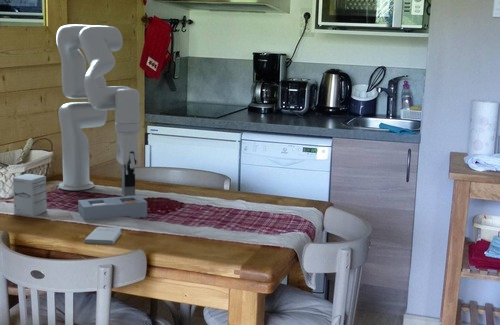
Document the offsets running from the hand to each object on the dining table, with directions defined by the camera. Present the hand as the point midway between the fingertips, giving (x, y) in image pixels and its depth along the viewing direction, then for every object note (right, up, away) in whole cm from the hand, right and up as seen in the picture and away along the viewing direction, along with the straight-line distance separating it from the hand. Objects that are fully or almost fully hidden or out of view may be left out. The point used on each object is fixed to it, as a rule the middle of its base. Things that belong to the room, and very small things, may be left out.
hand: (128, 184), depth 212 cm
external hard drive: (-3, -15, -20) cm, 25 cm away
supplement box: (-31, -10, -1) cm, 32 cm away
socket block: (-5, -10, 0) cm, 11 cm away
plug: (0, -3, +1) cm, 3 cm away
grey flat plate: (-20, -11, -5) cm, 23 cm away
